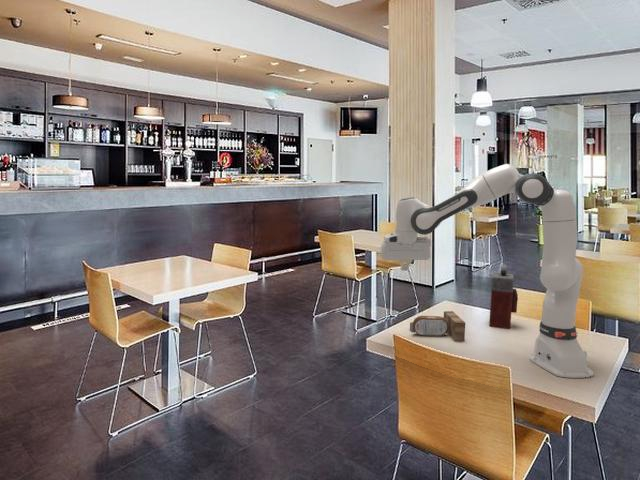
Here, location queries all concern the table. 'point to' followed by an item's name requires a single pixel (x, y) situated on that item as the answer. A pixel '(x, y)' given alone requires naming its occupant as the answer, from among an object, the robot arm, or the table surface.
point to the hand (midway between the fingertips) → (404, 270)
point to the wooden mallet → (452, 326)
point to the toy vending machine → (502, 299)
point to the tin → (430, 326)
